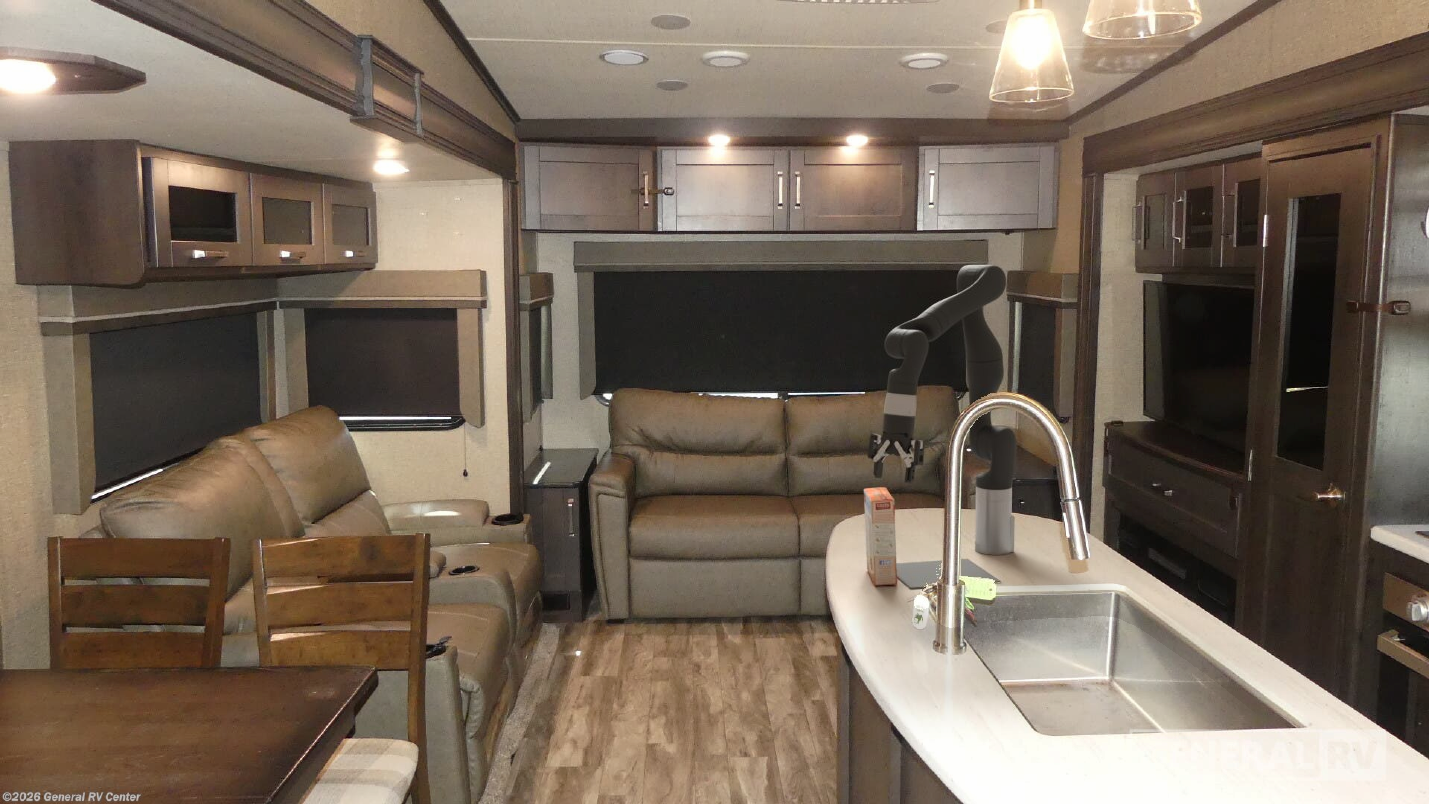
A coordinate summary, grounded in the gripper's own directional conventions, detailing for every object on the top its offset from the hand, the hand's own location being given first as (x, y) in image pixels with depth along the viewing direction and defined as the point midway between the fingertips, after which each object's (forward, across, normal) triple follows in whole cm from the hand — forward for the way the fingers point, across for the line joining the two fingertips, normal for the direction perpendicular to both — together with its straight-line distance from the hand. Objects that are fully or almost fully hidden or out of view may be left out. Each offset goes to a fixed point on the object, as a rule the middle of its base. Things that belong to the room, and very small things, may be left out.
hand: (892, 480), depth 255 cm
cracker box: (+24, +2, -2) cm, 24 cm away
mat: (+22, -7, -14) cm, 27 cm away
